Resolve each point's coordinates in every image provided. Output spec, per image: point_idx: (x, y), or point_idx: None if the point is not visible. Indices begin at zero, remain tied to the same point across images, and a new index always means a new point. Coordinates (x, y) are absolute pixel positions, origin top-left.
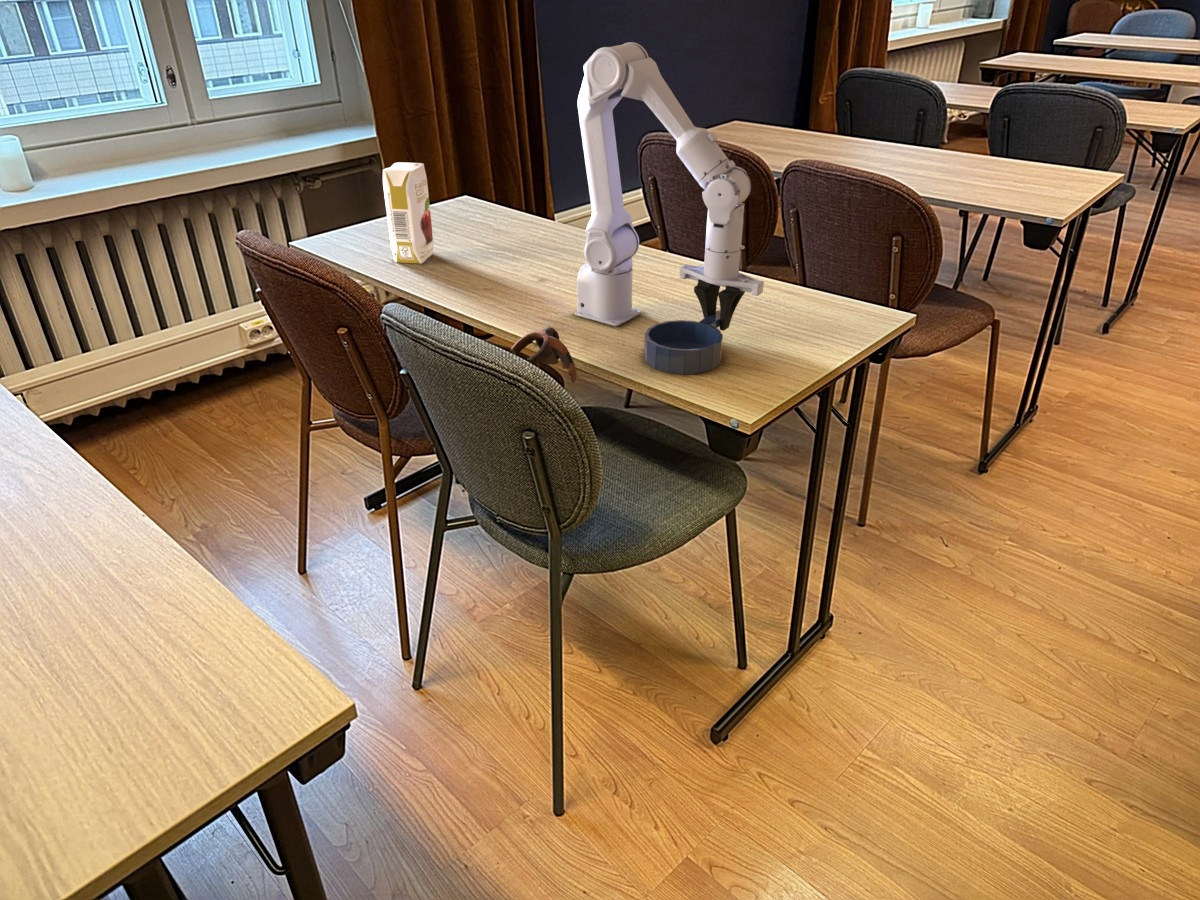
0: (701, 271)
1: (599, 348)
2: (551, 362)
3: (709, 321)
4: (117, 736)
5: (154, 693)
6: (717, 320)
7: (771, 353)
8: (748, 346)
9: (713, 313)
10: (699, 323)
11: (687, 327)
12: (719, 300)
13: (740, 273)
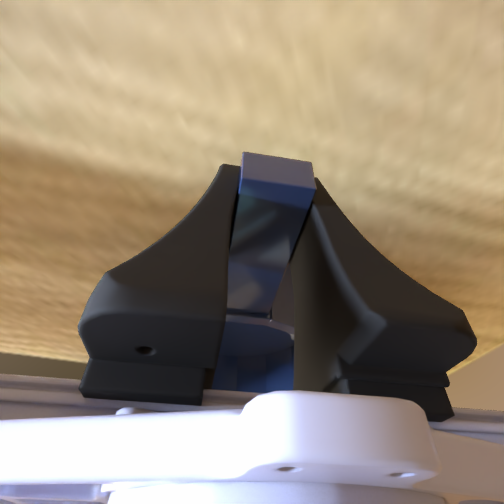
0: (73, 486)
1: (41, 328)
2: None
3: (256, 292)
4: None
5: None
6: (283, 274)
7: (489, 216)
8: (404, 198)
9: (238, 226)
10: (233, 321)
11: None
12: (294, 370)
13: (471, 497)
